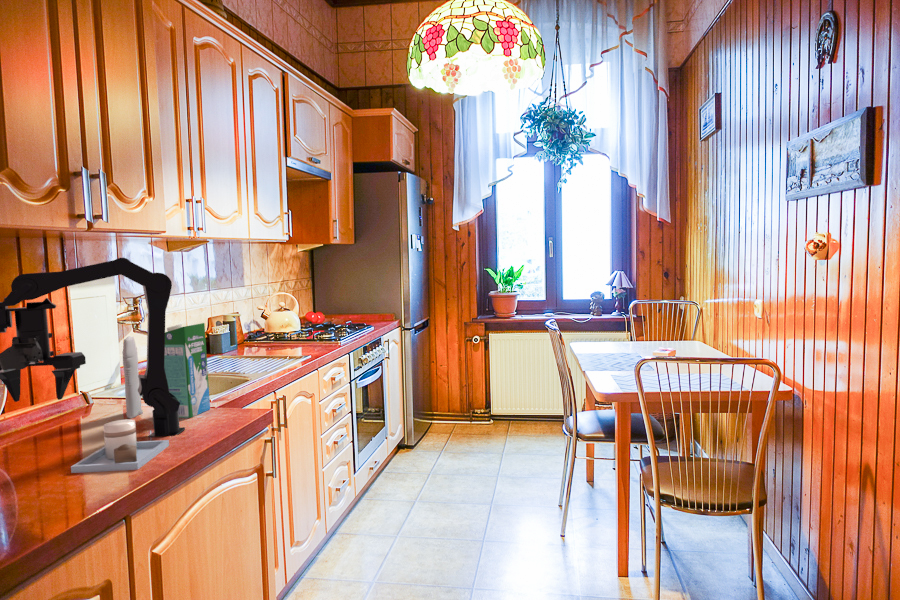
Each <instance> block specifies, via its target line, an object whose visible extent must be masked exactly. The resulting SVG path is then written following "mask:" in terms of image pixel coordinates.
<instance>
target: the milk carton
mask: <svg viewBox="0 0 900 600" xmlns="http://www.w3.org/2000/svg"><path fill="white" fill-rule="evenodd" d="M207 356H208V355H207V340H206V326H205V322H202V323H196V324H191V325H185V326H183V324H176V325H173V326H169V327H167V328H166V331H165V360H164V368H165V373H166V377H167V382H168V387H169V392H170V393H171V394H173V395H174V396H175V397H176V398H177V399H178V401H179V402H180V406H179V409H178V413H179V419H181V418H183V419H191V418H193V417H196V416H198V415H200V414H202V413H203V414H204V413H205V412H208V411H210V410H211V401H210V388H209V373H208V372H209V370H208V357H207Z"/></svg>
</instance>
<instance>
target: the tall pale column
mask: <svg viewBox="0 0 900 600" xmlns="http://www.w3.org/2000/svg"><path fill="white" fill-rule="evenodd" d="M122 344H123V346H122V367H123V376H124V392H125V393H124V395H125V408H126V409H125V410H126V411H125V415H126V418H127V419H134V418H136V417H137V416H139V415H142V414H143V411H144V410H143V409H142V396H140V395H139V393H138V388H139V378H138V375H140V374H139V356H138V348H137V346H136V341H135V337H134V336H127V337H125V338H124V339H123V343H122Z"/></svg>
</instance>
